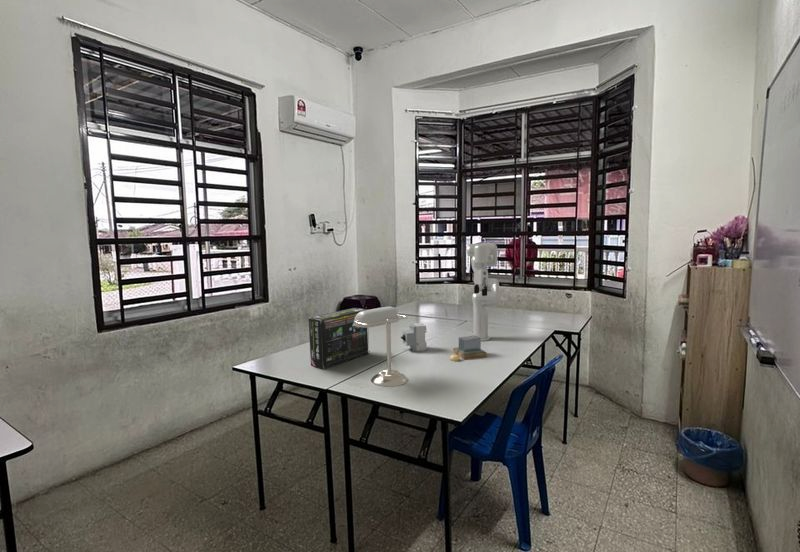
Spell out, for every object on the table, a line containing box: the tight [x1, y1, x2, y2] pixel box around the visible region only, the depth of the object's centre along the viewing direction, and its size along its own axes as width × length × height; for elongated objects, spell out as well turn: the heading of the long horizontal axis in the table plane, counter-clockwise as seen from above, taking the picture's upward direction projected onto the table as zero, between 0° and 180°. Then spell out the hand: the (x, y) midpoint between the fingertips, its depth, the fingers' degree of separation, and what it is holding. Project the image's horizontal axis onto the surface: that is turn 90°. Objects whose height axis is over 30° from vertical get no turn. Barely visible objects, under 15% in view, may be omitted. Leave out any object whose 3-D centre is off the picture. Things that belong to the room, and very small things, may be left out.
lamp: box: [353, 306, 409, 387], centre depth 202 cm, size 26×24×34 cm
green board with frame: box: [452, 346, 487, 360], centre depth 240 cm, size 14×14×3 cm
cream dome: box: [449, 354, 460, 362], centre depth 230 cm, size 5×5×2 cm
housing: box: [458, 335, 482, 352], centre depth 239 cm, size 11×6×7 cm, turn 112°
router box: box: [307, 307, 370, 370], centre depth 233 cm, size 36×11×27 cm, turn 141°
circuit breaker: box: [400, 322, 428, 352], centre depth 251 cm, size 8×14×15 cm, turn 108°
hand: (480, 294), depth 247 cm, fingers open, 9 cm apart
